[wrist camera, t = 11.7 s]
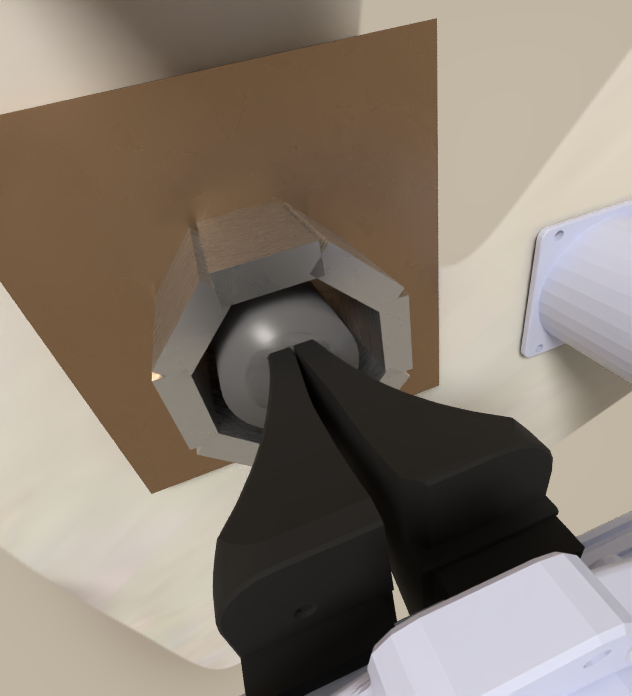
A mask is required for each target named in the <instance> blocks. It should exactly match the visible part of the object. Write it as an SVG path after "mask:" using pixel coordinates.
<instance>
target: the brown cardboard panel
mask: <svg viewBox="0 0 632 696" xmlns="http://www.w3.org/2000/svg"><path fill="white" fill-rule="evenodd" d="M437 136H438V135H437V19H432V20H427V21H423V22H418V23H414V24H409V25H404V26H400V27H396V28H391V29H386V30H382V31H377V32H373V33H369V34H364V35H359V36H355V37H350V38H346V39H341V40H337V41H332V42H328V43H323V44H319V45H314V46H310V47H305V48H300V49H296V50H291V51H287V52H282V53H278V54H273V55H269V56H264V57H260V58H255V59H251V60H246V61H242V62H237V63H233V64H228V65H224V66H219V67H215V68H210V69H206V70H201V71H197V72H192V73H187V74H183V75H178V76H174V77H169V78H165V79H160V80H156V81H151V82H147V83H142V84H138V85H133V86H129V87H124V88H120V89H115V90H111V91H106V92H102V93H97V94H93V95H88V96H84V97H79V98H74V99H70V100H65V101H61V102H56V103H52V104H47V105H43V106H38V107H34V108H29V109H25V110H20V111H16V112H11V113H7V114H2V115H0V282H1V283H2V284H3V286H4V287H5V289H6V290H7V291H8V293H9V294H10V296H11V297H12V299H13V300H14V301H15V303H16V304H17V306H18V307H19V308H20V310H21V311H22V313H23V314H24V315H25V317H26V318H27V320H28V321H29V322H30V324H31V325H32V327H33V328H34V329H35V331H36V332H37V334H38V335H39V336H40V338H41V339H42V341H43V342H44V343H45V345H46V346H47V348H48V349H49V350H50V352H51V353H52V355H53V356H54V357H55V359H56V360H57V362H58V363H59V364H60V366H61V367H62V369H63V370H64V371H65V373H66V374H67V376H68V377H69V379H70V380H71V381H72V383H73V384H74V386H75V387H76V388H77V390H78V391H79V393H80V394H81V395H82V397H83V398H84V400H85V401H86V402H87V404H88V405H89V407H90V408H91V409H92V411H93V412H94V414H95V415H96V416H97V418H98V419H99V421H100V422H101V423H102V425H103V426H104V428H105V429H106V430H107V432H108V433H109V435H110V436H111V437H112V439H113V440H114V442H115V443H116V444H117V446H118V447H119V449H120V450H121V451H122V453H123V454H124V456H125V457H126V458H127V460H128V461H129V463H130V464H131V466H132V467H133V468H134V470H135V471H136V473H137V474H138V475H139V477H140V478H141V480H142V481H143V482H144V484H145V485H146V487H147V488H148V489H149V491H150V492H151V494H153V493H155V492H158V491H161V490H163V489H166V488H168V487H171V486H174V485H176V484H179V483H182V482H184V481H187V480H190V479H192V478H195V477H198V476H200V475H203V474H205V473H208V472H211V471H213V470H216V469H219V468H221V467H224V466H227V465H229V464H232V463H239V464H244V465H248V466H253V463H254V460H255V457H256V454H257V450H258V447H259V444H260V440H261V436H262V433H263V428H260V427H256V426H253V425H251V424H248V423H246V422H245V421H243V420H241V419H240V418H239V417H237V416H236V415H235V414H234V413H233V412H232V411H231V410H230V409H229V407H228V406H227V404H226V402H225V400H224V398H223V395H222V391H221V387H220V381H219V376H218V371H217V366H216V360H215V355H214V350H213V344H212V338H213V336H214V335H215V333H216V331H217V329H218V328H219V326H220V324H221V322H222V321H223V319H224V317H225V315H226V314H227V312H228V310H229V308H230V307H231V305H234V304H237V303H240V302H243V301H246V300H249V299H253V298H256V297H259V296H262V295H265V294H268V293H272V292H275V291H278V290H281V289H284V288H287V287H291V286H294V285H297V284H300V283H303V282H306V281H311V282H312V284H313V285H314V286H315V287H316V289H317V290H318V291H319V293H320V294H321V295H322V296H323V298H324V299H325V300H326V302H327V303H328V304H329V305H330V307H331V308H332V309H333V311H334V312H335V313H336V314H337V316H338V317H339V318H340V320H341V321H342V322H343V323H344V325H345V326H346V327H347V329H348V330H349V331H350V333H351V334H352V335H353V337H354V339H355V341H356V344H357V347H358V352H359V367H358V370H359V371H361V372H363V373H365V374H366V375H368V376H370V377H372V378H374V379H376V380H378V381H380V382H382V383H384V384H386V385H388V386H391V387H393V388H395V389H398V390H400V391H403V392H405V393H408V394H411V395H414V394H417V393H420V392H422V391H425V390H428V389H430V388H433V387H436V386H438V385H439V308H438V142H437V141H438V138H437Z"/></svg>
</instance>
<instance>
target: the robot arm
mask: <svg viewBox="0 0 632 696" xmlns="http://www.w3.org/2000/svg"><path fill="white" fill-rule="evenodd" d="M556 233H557V234H556ZM555 235H556V236H555ZM564 344H567V345H569V346H571V347H572V348H574V349H576V350H577V351H579V352H580V353H582V354H584V355H585V356H587V357H589V358H590V359H592V360H593V361H595V362H597V363H598V364H600V365H601V366H603V367H605V368H606V369H608V370H610V371H611V372H613V373H614V374H616V375H618V376H619V377H621V378H622V379H624V380H626V381H627V382H629V383H631V384H632V199H630V200H627V201H624V202H621V203H618V204H615V205H612V206H609V207H606V208H603V209H600V210H597V211H594V212H591V213H587V214H584V215H581V216H578V217H575V218H572V219H569V220H566V221H563V222H560V223H557V224H554V225H551V226H548V227H545V228H543V229H542V230H541V231H540V233H539V234H538V237H537V241H536V248H535V255H534V262H533V269H532V276H531V283H530V290H529V297H528V304H527V311H526V318H525V325H524V332H523V339H522V346H521V353H522V355H524V356H525V357H532V356H535V355H537V354H540V353H543V352H545V351H548V350H550V349H553V348H556V347H558V346H561V345H564ZM293 347H294V351H295V354H296V357H295V355H294V354H293V352H292V351H291V349H290V348H289V347H288V348H285V349H282V350H279V351H276V352H273V353H270V354H269V356H268V357H267V359H268V362H269V371H270V384H269V398H268V406H267V412H266V419H265V424H264V428H263V433H262V436H261V440H260V444H259V447H258V450H257V454H256V457H255V460H254V463H253V466H252V468H251V471H250V474H249V476H248V478H247V481H246V483H245V485H244V487H243V490H242V492H241V494H240V497H239V499H238V501H237V503H236V505H235V507H234V509H233V511H232V513H231V515H230V516H229V518H228V520H227V522H226V524H225V526H224V527H223V529H222V531H221V533H220V535H219V537H218V538H217V544H216V551H215V559H214V570H213V599H214V610H215V620H216V625H217V628H218V630H219V632H220V634H221V635H222V636H223V637H224V639H225V640H226V641H227V642H228V643H229V645H230V646H231V647H232V648H233V649H234V651H235V652H236V653H237V654H238V655H239V657H240V658H241V664H242V671H243V678H244V687H245V694H243V695H241V696H632V511H630V512H628V513H626V514H624V515H622V516H620V517H617V518H615V519H613V520H611V521H609V522H607V523H605V524H603V525H601V526H598V527H596V528H594V529H592V530H590V531H588V532H586V533H584V534H582V535H579V536H577V537H575V536H574V535H573V534H572V533H571V532H570V530H569V529H568V528H567V527H566V526H565V525H564V524H563V523H562V522H561V521H560V520H559V519H558V518H557V516H556V515H557V514H558V512H559V511H558V509H557V507H556V506H555V505H554V504H553V503H552V502H551V501H550V500H549V499H548V497H547V496H546V491H547V488H548V484H549V479H550V476H551V472H552V462H553V457H552V455H551V452H550V450H549V449H548V448H547V447H546V446H545V445H544V444H543V443H542V442H541V441H539V440H538V439H537V438H536V437H535V436H534V435H533V434H532V433H531V432H530V431H529V430H527V429H526V428H525V427H524V426H522V425H521V424H520V423H518V422H517V421H516V420H515V419H513V418H511V417H504V416H498V415H492V414H485V413H479V412H473V411H468V410H464V409H460V408H455V407H451V406H447V405H443V404H439V403H436V402H432V401H429V400H426V399H423V398H420V397H417V396H414V395H411V394H408V393H405V392H403V391H400V390H398V389H395V388H393V387H391V386H388V385H386V384H384V383H382V382H380V381H378V380H376V379H374V378H372V377H370V376H368V375H366V374H365V373H363V372H361V371H359V370H358V369H356V368H354V367H353V366H351V365H349V364H348V363H346V362H345V361H343V360H342V359H340V358H339V357H337V356H336V355H334V354H333V353H331V352H330V351H328V350H327V349H326V348H324V347H323V346H322V345H320V344H319V343H318V342H317V341H315V340H313V339H311V340H308V341H305V342H302V343H299V344H296V345H293ZM296 358H297V360H296ZM297 362H298V363H297ZM391 572H392V574H393V576H394V578H395V581H396V583H397V586H398V588H399V591H400V593H401V595H402V598H403V600H404V602H405V605H406V607H407V610H408V612H409V614H410V616H408V617H406V618H404V619H401V620H399V621H397V618H396V612H395V606H394V600H393V594H392V590H394V588H393V581H392V574H391Z"/></svg>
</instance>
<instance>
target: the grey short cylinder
mask: <svg viewBox="0 0 632 696" xmlns="http://www.w3.org/2000/svg"><path fill="white" fill-rule="evenodd" d="M311 339H313V340H315V341H317V342H318V343H319V344H320V345H322V346H323V347H324V348H326V349H327V350H328V351H330V352H331V353H333V354H334V355H336V356H337V357H339V358H340V359H342V360H343V361H345V362H346V363H348V364H349V365H351V366H353V367H354V368H356V369H358V367H359V352H358V347H357V344H356V341H355V339H354V337H353V335H352V334H351V333H350V331H349V330H348V329H347V327H346V326H345V325H344V323H343V322H342V321H341V320H340V318H339V317H338V316H337V314H336V313H335V312H334V311H333V309H332V308H331V307H330V305H329V304H328V303H327V302H326V300H325V299H324V298H323V296H322V295H321V294H320V293H319V291H318V290H317V289H316V287H315V286H314V285H313V284H312V282H311V281H306V282H303V283H300V284H297V285H294V286H291V287H287V288H284V289H281V290H278V291H275V292H272V293H268V294H265V295H262V296H259V297H256V298H253V299H249V300H246V301H243V302H240V303H237V304H234V305H231V307H230V308H229V310H228V312H227V314H226V315H225V317H224V319H223V321H222V322H221V324H220V326H219V328H218V329H217V331H216V333H215V335H214V336H213V338H212V344H213V350H214V355H215V360H216V366H217V371H218V376H219V381H220V387H221V391H222V395H223V398H224V400H225V402H226V404H227V406H228V407H229V409H230V410H231V411H232V412H233V413H234V414H235V415H236V416H237V417H239V418H240V419H241V420H243V421H245V422H246V423H248V424H251V425H253V426H256V427H260V428H264V424H265V419H266V412H267V406H268V398H269V384H270V371H269V362H268V359H267V357H268V356H269V354H270V353H273V352H276V351H279V350H282V349H285V348H288V347H289V348H290V349H291V351H292V352H293V354H294V355H295V357H296V354H295V351H294V347H293V345H296V344H299V343H302V342H305V341H308V340H311ZM296 360H297V358H296ZM297 363H298V362H297Z"/></svg>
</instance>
